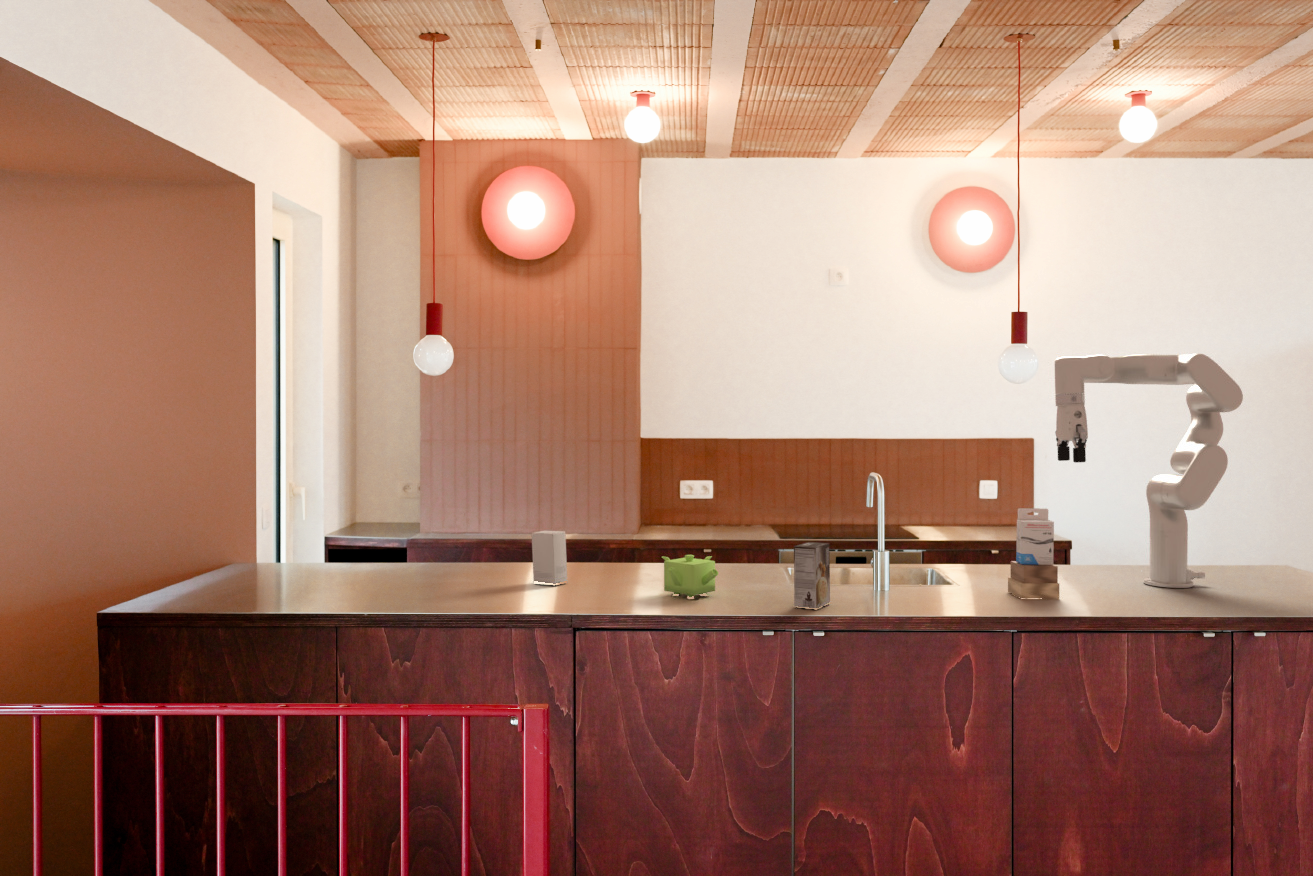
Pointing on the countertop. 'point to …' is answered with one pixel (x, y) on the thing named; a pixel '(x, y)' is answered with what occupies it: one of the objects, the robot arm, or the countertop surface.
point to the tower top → (1034, 573)
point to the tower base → (1033, 589)
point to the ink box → (1034, 537)
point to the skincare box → (549, 556)
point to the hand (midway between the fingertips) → (1071, 461)
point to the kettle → (689, 575)
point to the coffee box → (811, 574)
